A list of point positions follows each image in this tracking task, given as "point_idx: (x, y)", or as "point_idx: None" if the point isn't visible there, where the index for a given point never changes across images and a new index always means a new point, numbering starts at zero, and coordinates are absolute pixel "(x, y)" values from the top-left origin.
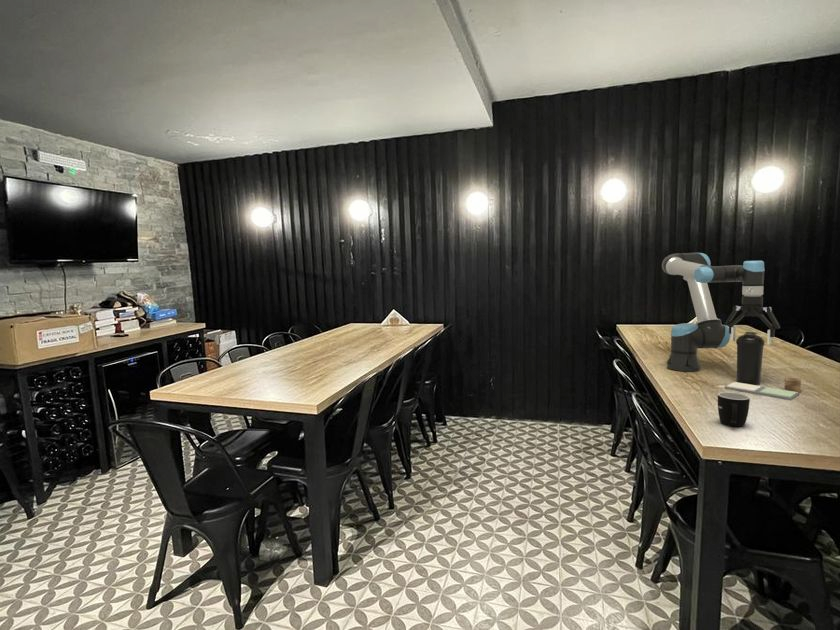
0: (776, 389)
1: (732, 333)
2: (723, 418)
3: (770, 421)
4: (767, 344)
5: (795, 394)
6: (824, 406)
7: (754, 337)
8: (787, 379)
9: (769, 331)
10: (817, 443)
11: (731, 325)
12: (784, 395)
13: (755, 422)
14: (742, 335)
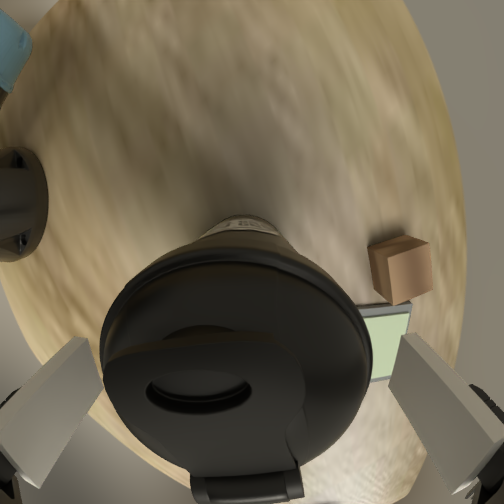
0: None
1: (64, 439)
2: None
3: (359, 484)
4: (391, 386)
5: (404, 331)
6: (446, 361)
7: (299, 467)
8: (398, 292)
9: (459, 475)
10: (401, 489)
11: (12, 492)
12: (383, 375)
13: (341, 495)
14: (157, 451)
